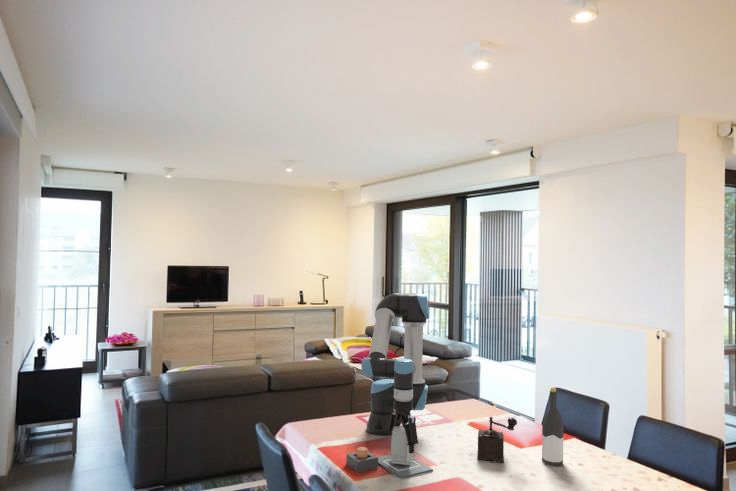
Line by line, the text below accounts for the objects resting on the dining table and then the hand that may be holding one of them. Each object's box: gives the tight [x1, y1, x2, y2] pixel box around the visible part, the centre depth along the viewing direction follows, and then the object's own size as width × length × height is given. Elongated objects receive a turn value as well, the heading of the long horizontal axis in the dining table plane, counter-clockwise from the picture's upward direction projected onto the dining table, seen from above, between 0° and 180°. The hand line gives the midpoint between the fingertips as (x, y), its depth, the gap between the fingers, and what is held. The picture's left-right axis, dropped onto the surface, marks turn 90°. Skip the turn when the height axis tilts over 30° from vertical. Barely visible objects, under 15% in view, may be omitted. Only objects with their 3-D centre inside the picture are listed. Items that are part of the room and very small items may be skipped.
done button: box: [356, 446, 369, 459], centre depth 201 cm, size 4×4×4 cm
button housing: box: [345, 450, 379, 473], centre depth 201 cm, size 9×9×4 cm
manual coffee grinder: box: [476, 416, 518, 463], centre depth 213 cm, size 16×11×18 cm
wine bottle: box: [541, 386, 564, 467], centre depth 210 cm, size 8×8×30 cm
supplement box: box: [391, 425, 411, 465], centre depth 203 cm, size 7×7×13 cm
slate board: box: [377, 453, 434, 480], centre depth 203 cm, size 20×15×1 cm
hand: (402, 456), depth 203 cm, fingers closed on supplement box, 10 cm apart
